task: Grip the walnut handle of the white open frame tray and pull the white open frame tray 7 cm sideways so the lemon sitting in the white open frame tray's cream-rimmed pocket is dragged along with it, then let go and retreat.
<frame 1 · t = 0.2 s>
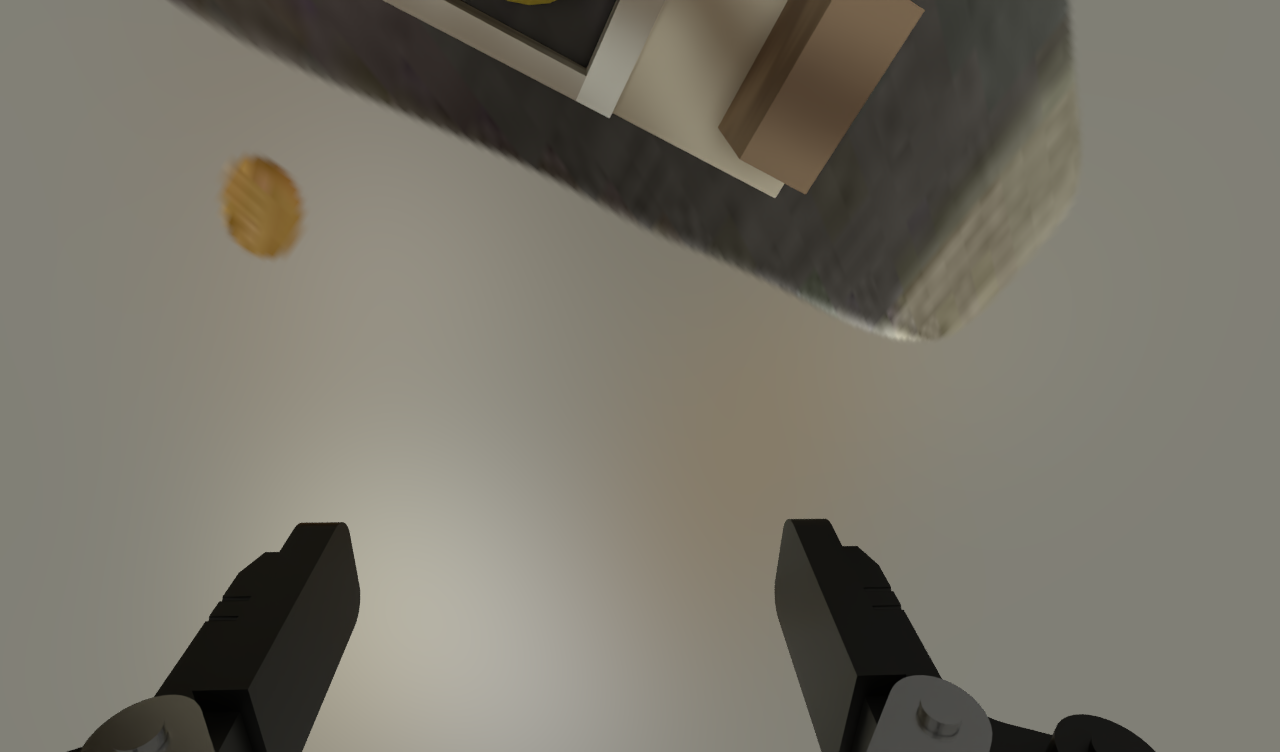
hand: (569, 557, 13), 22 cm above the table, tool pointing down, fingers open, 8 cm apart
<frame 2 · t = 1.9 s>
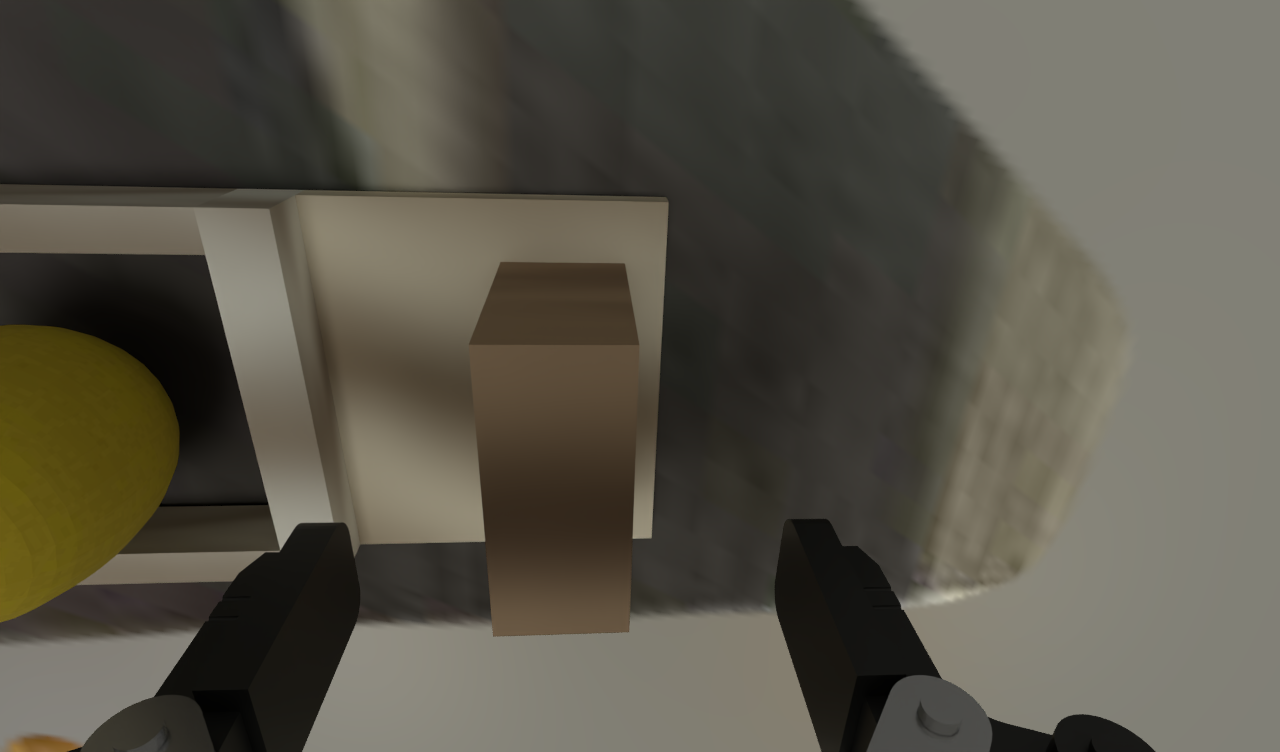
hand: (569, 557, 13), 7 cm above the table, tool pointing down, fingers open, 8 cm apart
lemon: (128, 376, 18), resting in white open frame tray
white open frame tray: (242, 436, 15), point 3 cm above the table, slide at 0.0 cm
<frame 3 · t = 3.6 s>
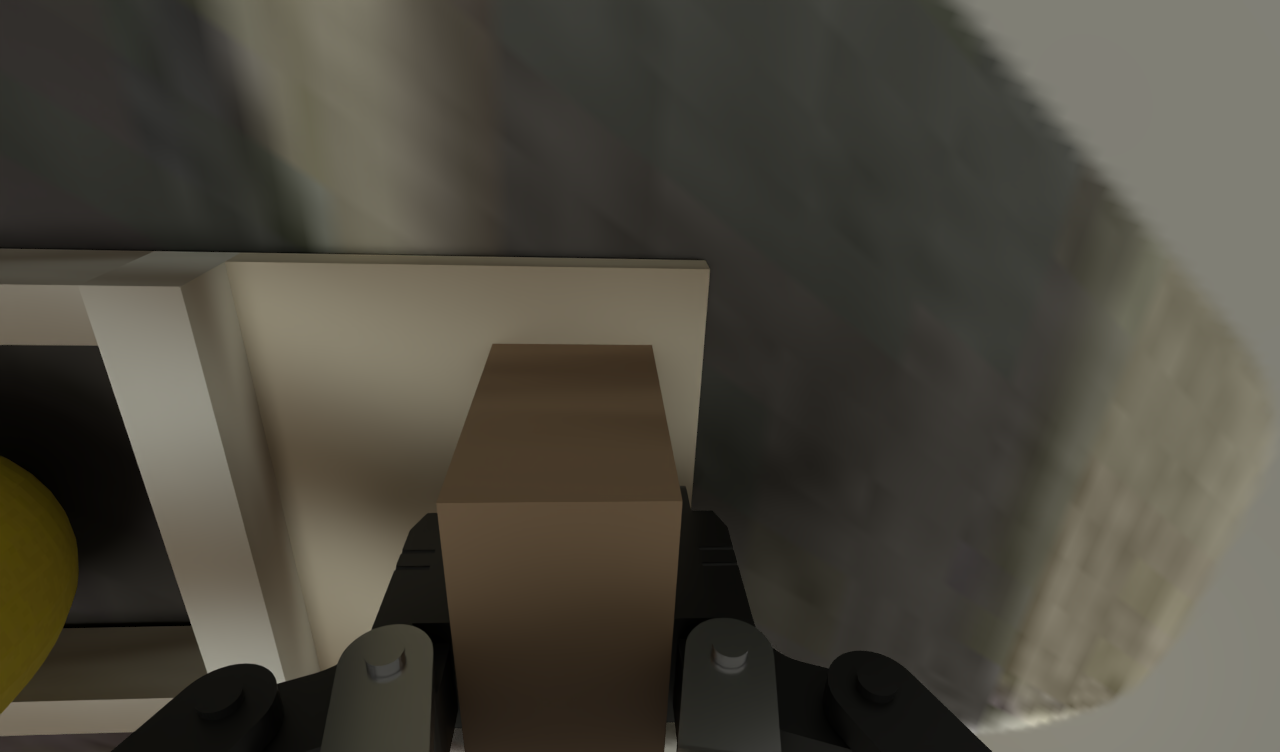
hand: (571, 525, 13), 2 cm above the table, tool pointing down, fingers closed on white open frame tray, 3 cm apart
lemon: (28, 475, 14), resting in white open frame tray
white open frame tray: (153, 574, 12), point 3 cm above the table, slide at 0.0 cm, touching gripper
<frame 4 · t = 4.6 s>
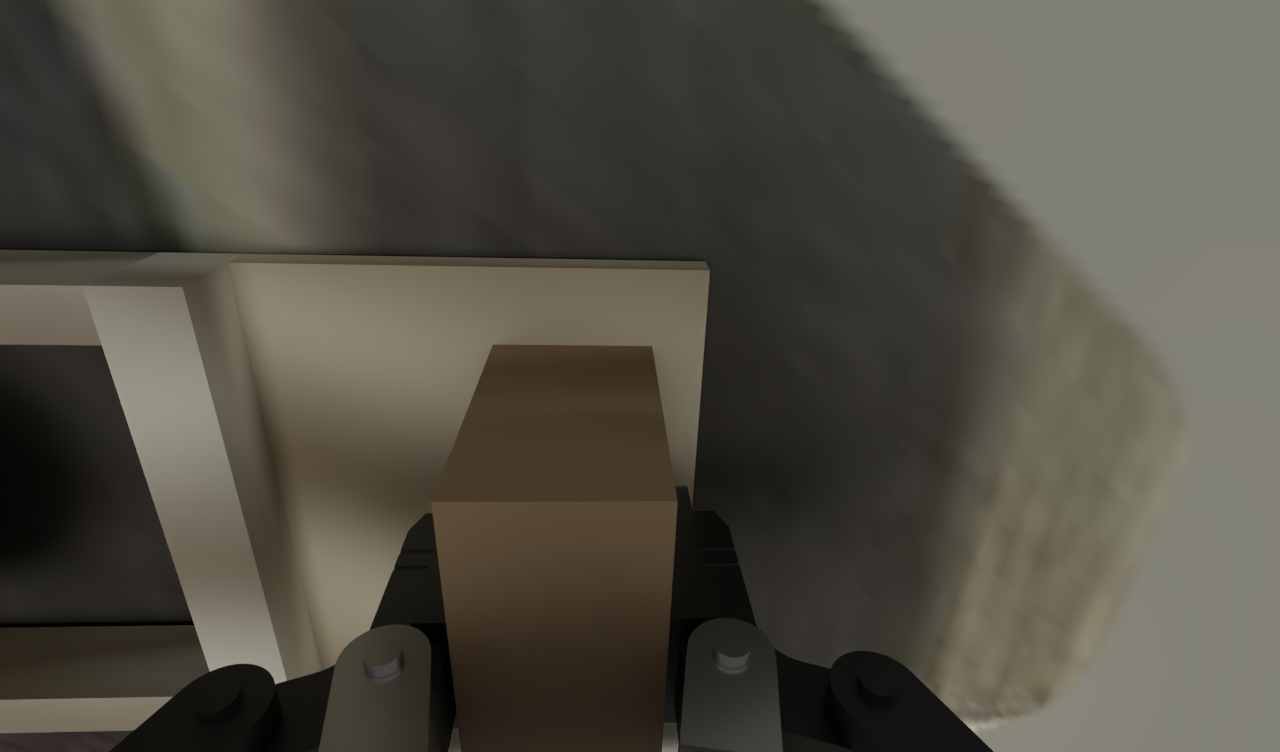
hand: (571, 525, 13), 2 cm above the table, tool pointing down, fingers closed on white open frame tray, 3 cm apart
white open frame tray: (155, 573, 12), point 3 cm above the table, slide at 2.4 cm, touching gripper
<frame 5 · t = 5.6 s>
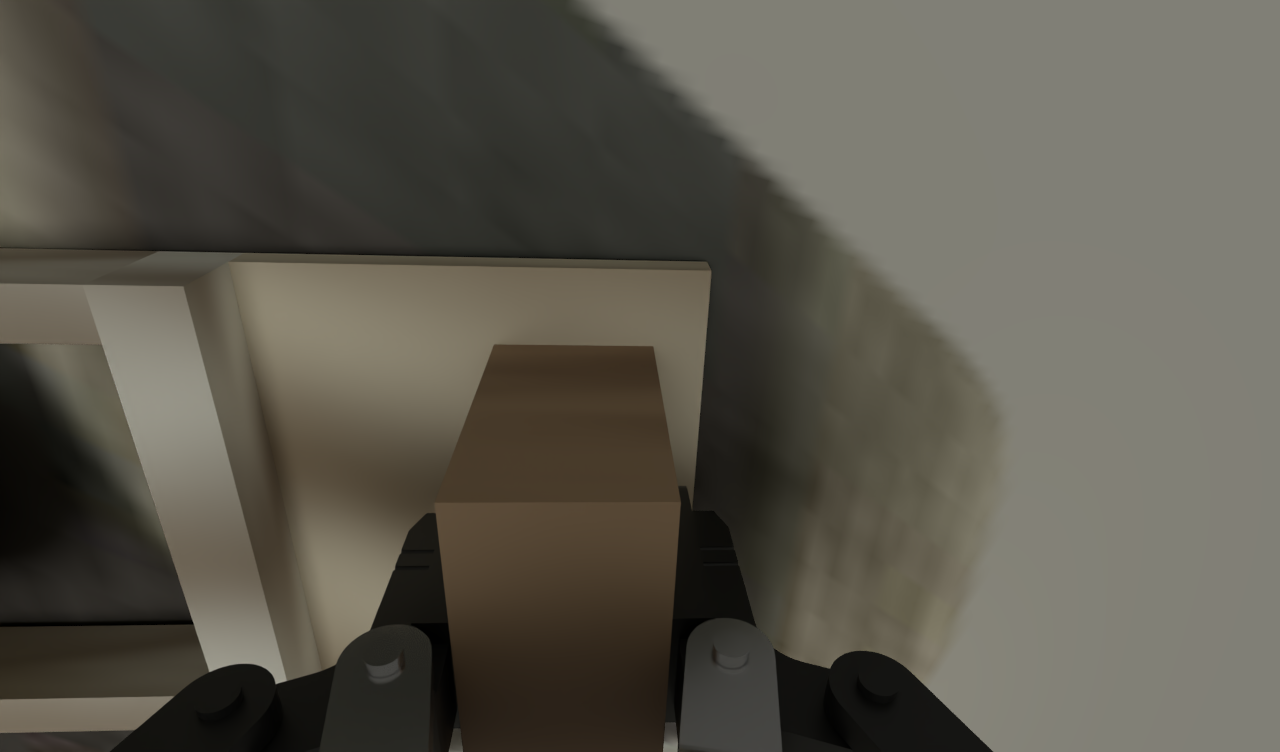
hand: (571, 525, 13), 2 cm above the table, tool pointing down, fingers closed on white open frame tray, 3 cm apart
white open frame tray: (155, 573, 12), point 3 cm above the table, slide at 6.6 cm, touching gripper, lemon
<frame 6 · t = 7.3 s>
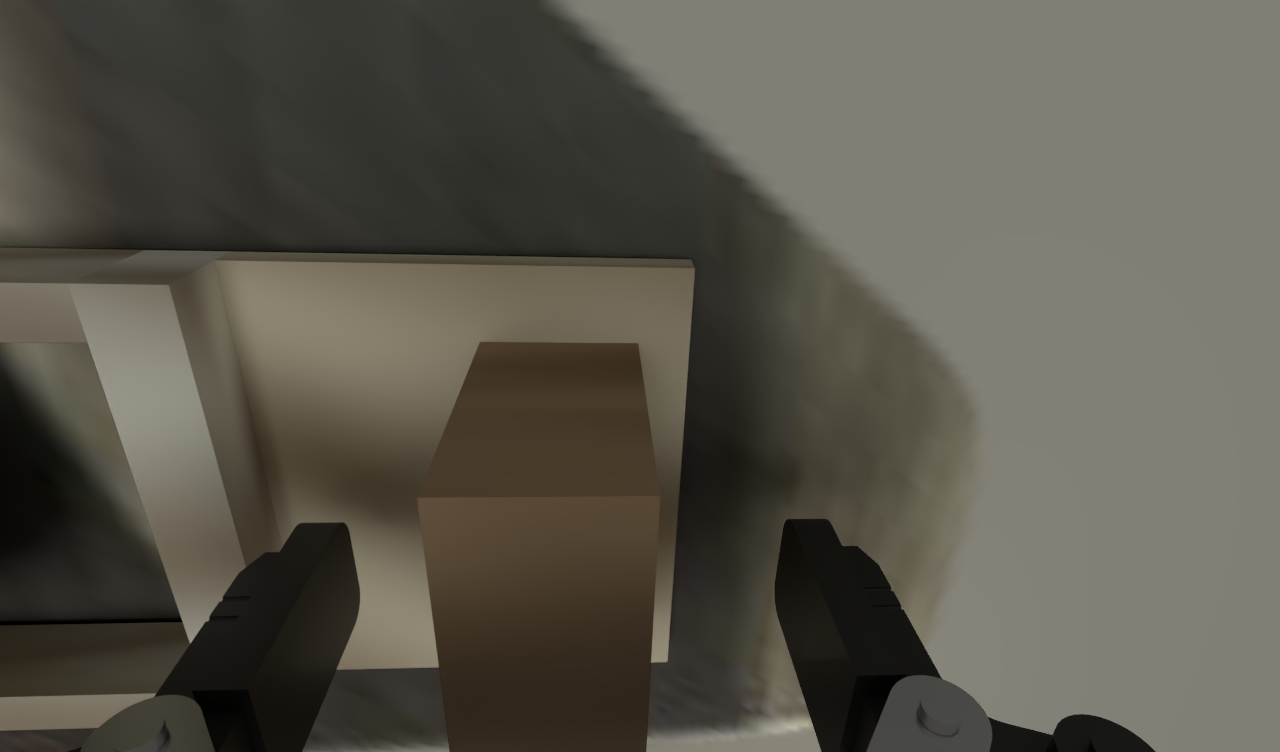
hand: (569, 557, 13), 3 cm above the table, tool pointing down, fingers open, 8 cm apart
white open frame tray: (143, 570, 12), point 3 cm above the table, slide at 6.7 cm, touching lemon
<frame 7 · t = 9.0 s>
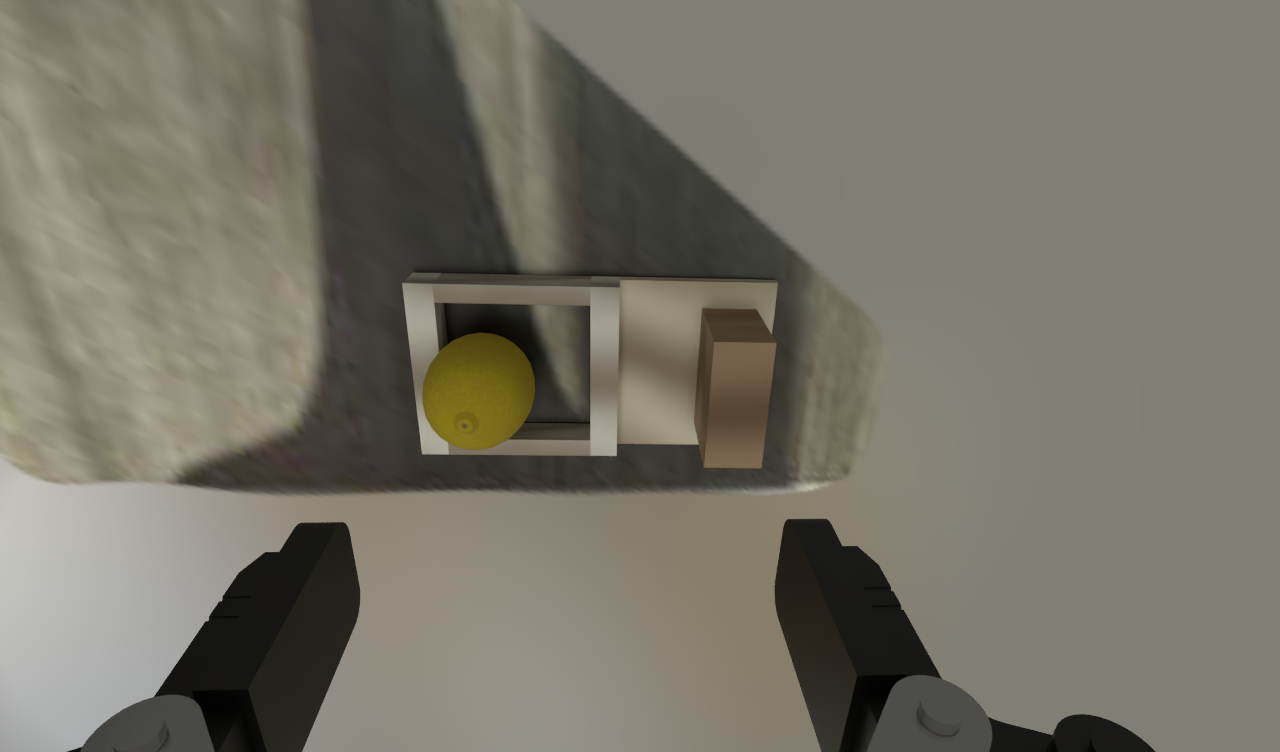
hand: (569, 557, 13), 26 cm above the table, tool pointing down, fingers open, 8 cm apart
lemon: (493, 357, 39), resting in white open frame tray
white open frame tray: (594, 382, 36), point 3 cm above the table, slide at 6.7 cm, touching lemon
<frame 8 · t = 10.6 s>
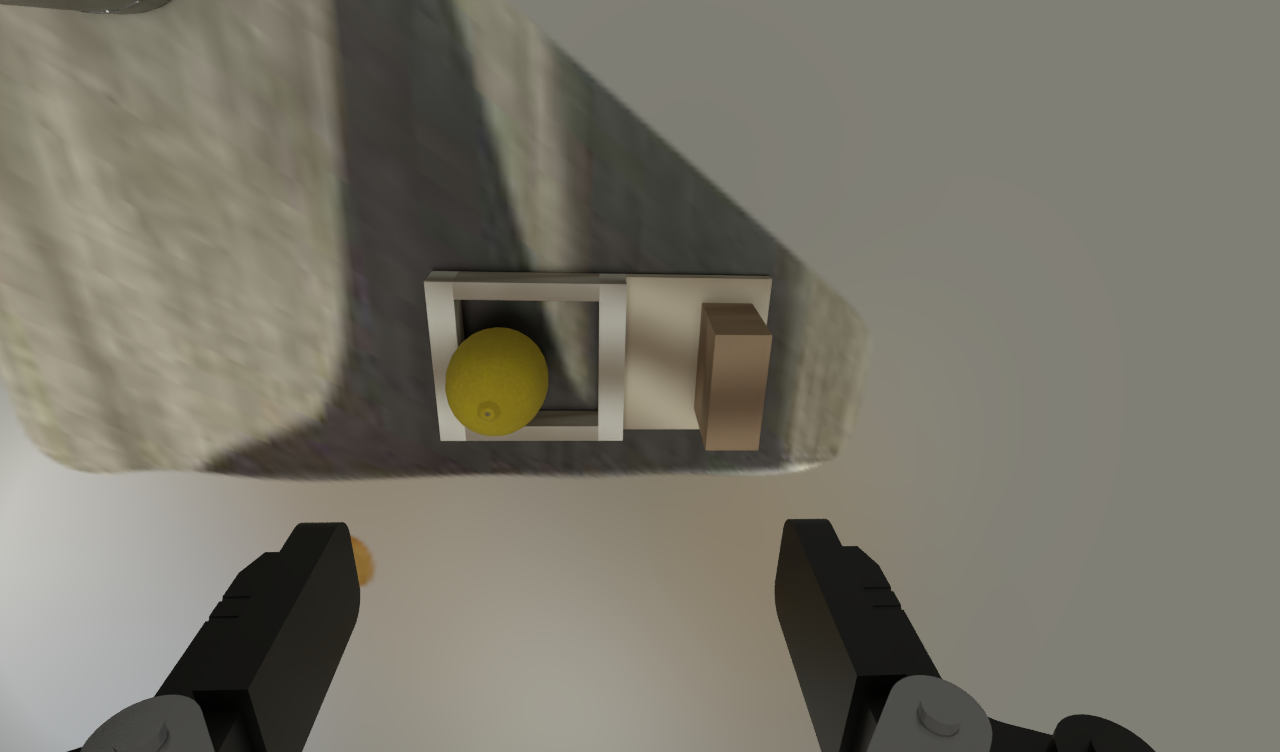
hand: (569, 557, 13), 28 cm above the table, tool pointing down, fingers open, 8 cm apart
lemon: (506, 350, 41), resting in white open frame tray
white open frame tray: (603, 372, 39), point 3 cm above the table, slide at 6.7 cm, touching lemon
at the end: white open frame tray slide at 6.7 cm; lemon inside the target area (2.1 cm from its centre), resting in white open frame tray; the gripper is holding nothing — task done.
